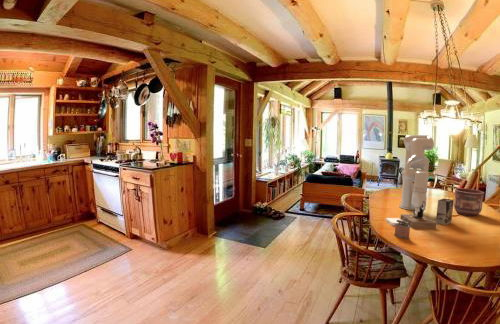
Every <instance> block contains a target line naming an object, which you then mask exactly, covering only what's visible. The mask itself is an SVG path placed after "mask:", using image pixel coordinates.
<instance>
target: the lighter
mask: <svg viewBox="0 0 500 324" xmlns="http://www.w3.org/2000/svg"><path fill="white" fill-rule="evenodd" d="M397 222H399V223H395V226H394V237H397V238H399V239H404V238H405V239H406V240H410V230H411V227H410V226H409V225H408V222H405V221H401V220H397ZM400 223H401V224H400ZM405 239H404V240H405Z"/></svg>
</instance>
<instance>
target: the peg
mask: <svg viewBox="0 0 500 324" xmlns="http://www.w3.org/2000/svg"><path fill="white" fill-rule="evenodd" d="M421 207H422V206H421ZM420 209H422V208H420ZM418 212H419V211H418V207H416V206H415V216H414V218H415V219H421V218H418V217H417V215H418Z"/></svg>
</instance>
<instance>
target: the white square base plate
mask: <svg viewBox="0 0 500 324" xmlns="http://www.w3.org/2000/svg"><path fill="white" fill-rule="evenodd" d="M397 220H401V219H400V218H399V217H385V222H386V223H387V224H389V225H390V226H392V227H395V223H399V222H397ZM401 221H402V220H401ZM400 224H401V223H400Z"/></svg>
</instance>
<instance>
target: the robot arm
mask: <svg viewBox="0 0 500 324" xmlns="http://www.w3.org/2000/svg"><path fill="white" fill-rule="evenodd" d="M403 144H404V147H405V159H404V160H405V162H404V170H403V171H402V174H401V176H402V186H401V187H402V188H401V189H402V190H401V201H400V204H399V205H398V207H399V208H400V209H403V210H410V211H413V215H415V206H416V207H418V211H419V212H418V215H417V217H418V218H422V217H423V215H424V212H425V211H426V207H427V192H428V184H429V179H430V178H429V177H430V173H429V167H430V166H429V164H430V160H429V158H428V157H426V153H425V151H431V150H433V149H434V147H435V142H434V139H433V137H431V135H427V134H425V135H423V134H410V135H405V137H403ZM421 206H422V207H421ZM420 208H422V209H420Z"/></svg>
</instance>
